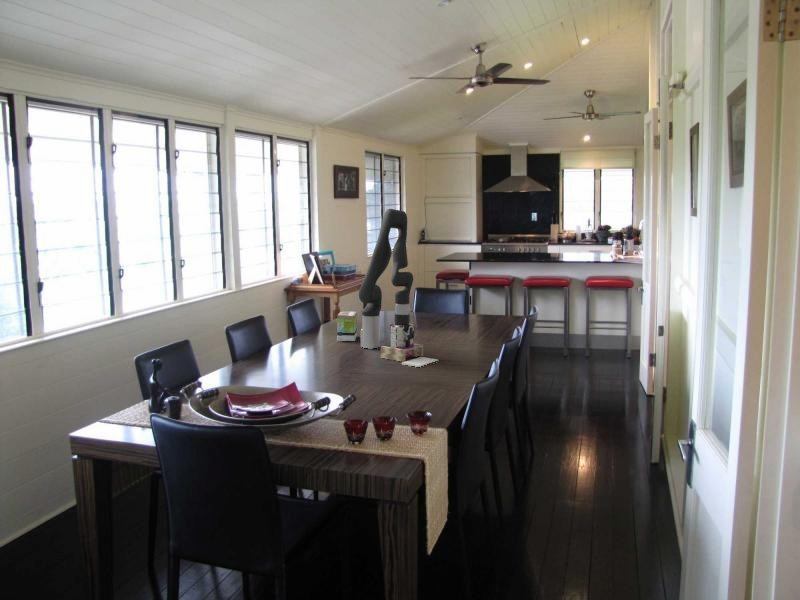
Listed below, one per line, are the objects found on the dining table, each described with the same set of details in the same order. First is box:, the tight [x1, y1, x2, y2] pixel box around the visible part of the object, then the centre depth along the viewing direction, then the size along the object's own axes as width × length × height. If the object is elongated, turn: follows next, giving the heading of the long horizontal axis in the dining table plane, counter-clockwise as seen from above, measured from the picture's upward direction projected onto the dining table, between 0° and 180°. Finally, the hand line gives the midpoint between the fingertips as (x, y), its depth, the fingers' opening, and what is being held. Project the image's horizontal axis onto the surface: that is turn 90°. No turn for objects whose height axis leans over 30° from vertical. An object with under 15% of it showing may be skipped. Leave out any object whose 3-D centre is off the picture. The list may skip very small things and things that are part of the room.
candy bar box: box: [389, 323, 415, 358], centre depth 334 cm, size 11×5×16 cm, turn 129°
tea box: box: [336, 311, 358, 342], centre depth 379 cm, size 15×10×15 cm
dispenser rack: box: [380, 343, 424, 363], centre depth 335 cm, size 14×15×6 cm
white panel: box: [400, 356, 439, 368], centre depth 323 cm, size 10×16×1 cm, turn 142°
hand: (402, 346), depth 334 cm, fingers open, 6 cm apart
